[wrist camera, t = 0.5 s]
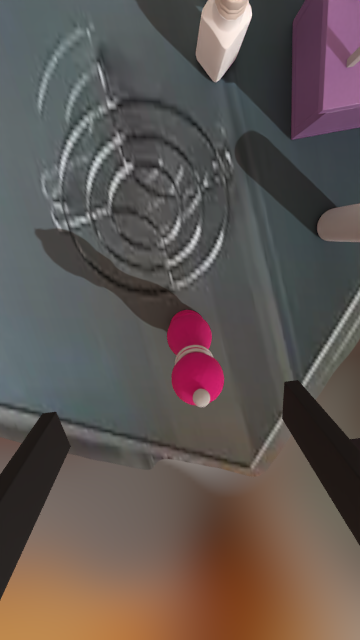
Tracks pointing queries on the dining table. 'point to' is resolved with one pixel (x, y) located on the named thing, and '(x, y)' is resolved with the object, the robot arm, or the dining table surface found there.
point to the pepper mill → (194, 360)
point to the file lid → (340, 56)
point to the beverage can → (340, 224)
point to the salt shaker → (221, 34)
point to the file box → (312, 79)
